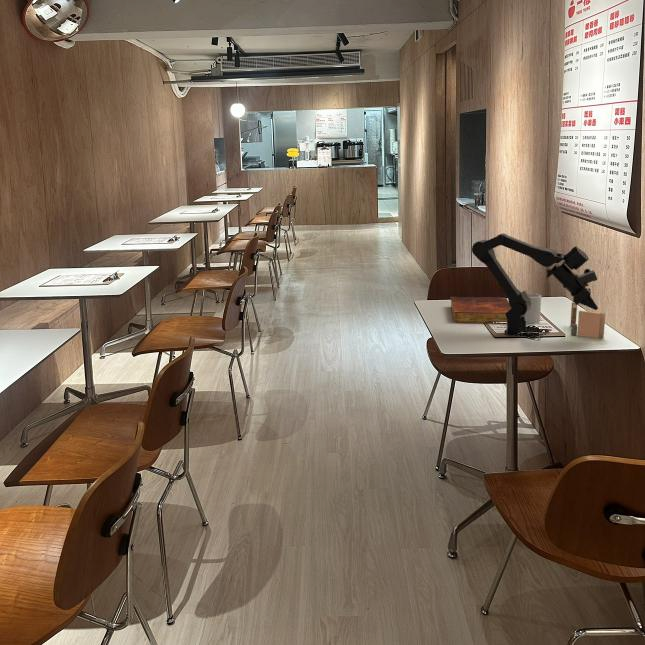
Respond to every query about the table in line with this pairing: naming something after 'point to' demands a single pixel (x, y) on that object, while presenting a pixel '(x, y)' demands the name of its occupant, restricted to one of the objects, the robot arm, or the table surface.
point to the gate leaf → (591, 324)
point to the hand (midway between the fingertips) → (597, 309)
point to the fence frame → (573, 319)
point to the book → (479, 309)
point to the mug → (533, 309)
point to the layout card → (581, 338)
